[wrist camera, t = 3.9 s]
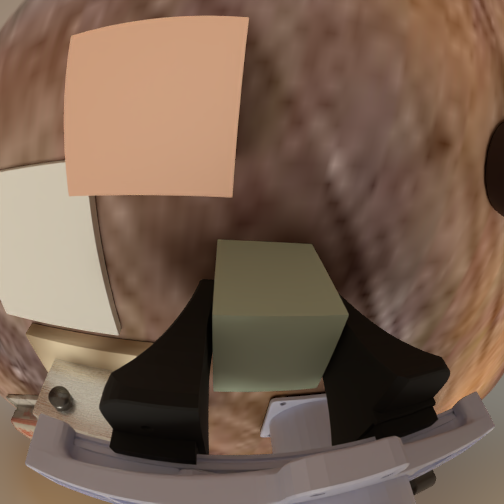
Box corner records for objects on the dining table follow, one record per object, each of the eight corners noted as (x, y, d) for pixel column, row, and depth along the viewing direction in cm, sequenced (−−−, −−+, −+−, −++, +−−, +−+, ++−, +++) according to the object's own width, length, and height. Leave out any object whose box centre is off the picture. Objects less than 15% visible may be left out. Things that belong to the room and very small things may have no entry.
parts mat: (91, 157, 10) (85, 160, 9) (121, 328, 15) (118, 335, 14) (-28, 176, 9) (-34, 179, 8) (10, 308, 14) (7, 313, 13)
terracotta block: (240, 57, 9) (249, 17, 4) (231, 160, 11) (232, 197, 6) (133, 59, 8) (71, 36, 4) (128, 159, 10) (68, 196, 6)
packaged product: (48, 453, 22) (-3, 416, 17) (55, 429, 26) (8, 391, 21) (133, 470, 20) (64, 430, 15) (138, 435, 24) (77, 390, 19)
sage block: (311, 243, 13) (348, 314, 8) (295, 314, 15) (316, 387, 11) (217, 239, 12) (212, 314, 8) (215, 312, 14) (213, 391, 10)
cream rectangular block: (170, 372, 15) (161, 444, 11) (179, 408, 18) (174, 467, 13) (52, 352, 14) (27, 408, 10) (76, 391, 17) (60, 440, 12)
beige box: (202, 346, 16) (197, 453, 10) (206, 408, 20) (206, 484, 14) (32, 323, 14) (-8, 396, 8) (69, 387, 18) (50, 449, 12)
